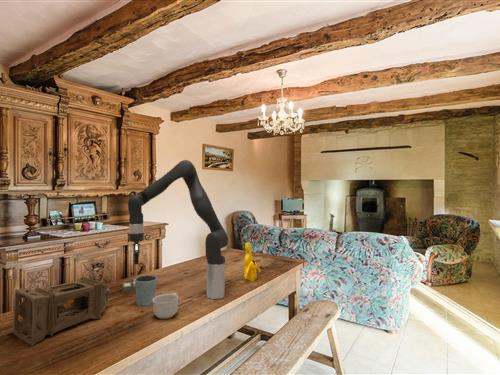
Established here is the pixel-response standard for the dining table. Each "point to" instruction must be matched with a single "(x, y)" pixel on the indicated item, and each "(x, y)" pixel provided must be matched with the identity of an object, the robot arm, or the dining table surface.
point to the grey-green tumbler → (145, 289)
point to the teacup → (165, 305)
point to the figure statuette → (250, 264)
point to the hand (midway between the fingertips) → (136, 264)
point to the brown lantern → (57, 307)
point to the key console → (128, 289)
